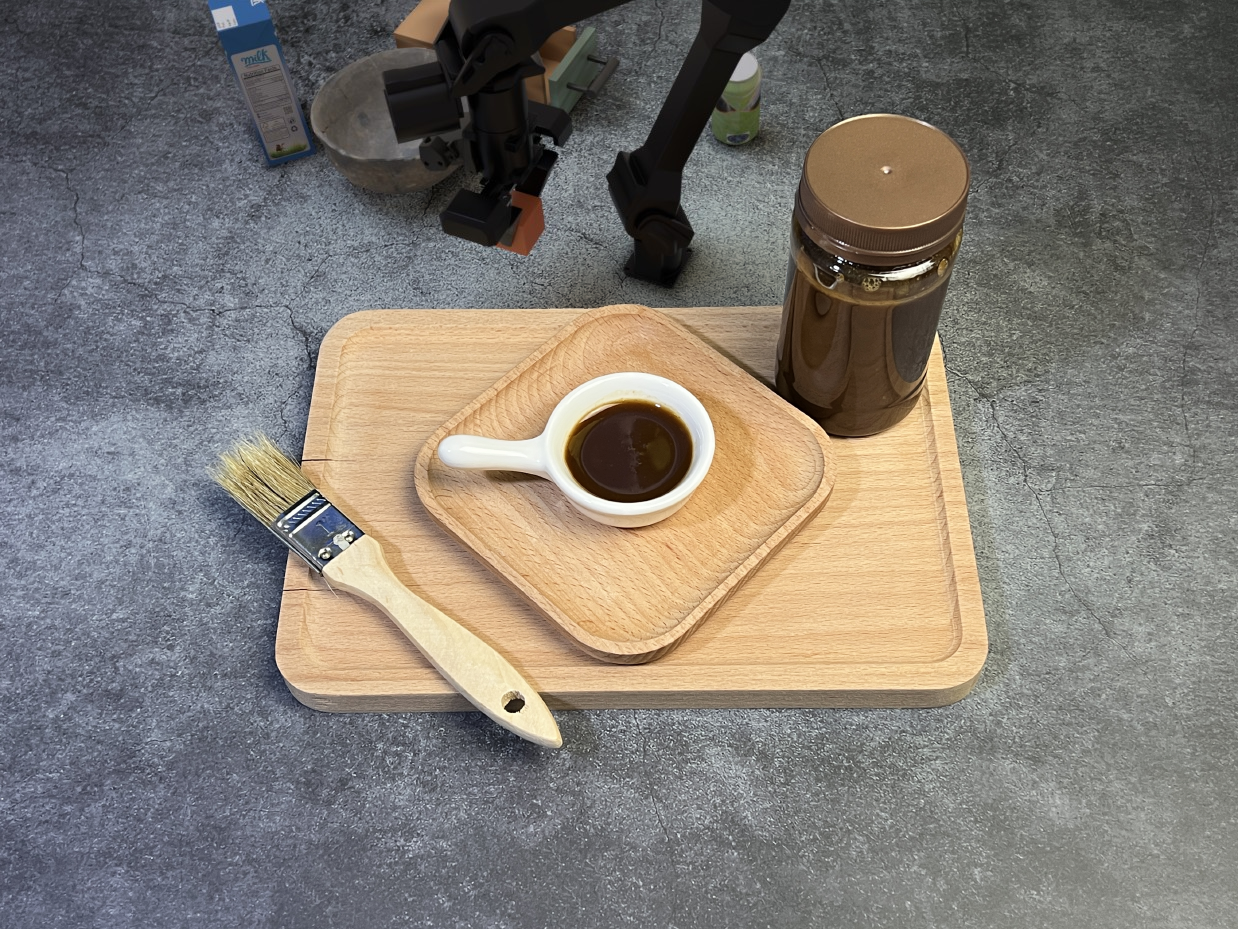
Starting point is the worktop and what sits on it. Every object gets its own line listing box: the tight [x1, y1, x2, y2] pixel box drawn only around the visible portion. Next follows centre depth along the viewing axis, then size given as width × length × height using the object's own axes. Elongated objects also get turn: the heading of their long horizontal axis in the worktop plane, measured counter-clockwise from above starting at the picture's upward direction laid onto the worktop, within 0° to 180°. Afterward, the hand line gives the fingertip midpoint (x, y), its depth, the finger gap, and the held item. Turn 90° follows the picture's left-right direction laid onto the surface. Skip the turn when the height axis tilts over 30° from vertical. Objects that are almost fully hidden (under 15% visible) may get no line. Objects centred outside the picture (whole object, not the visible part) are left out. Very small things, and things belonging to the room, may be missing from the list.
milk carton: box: [206, 0, 317, 168], centre depth 136 cm, size 10×6×20 cm, turn 22°
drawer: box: [525, 25, 621, 114], centre depth 144 cm, size 18×11×7 cm, turn 65°
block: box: [494, 189, 546, 257], centre depth 118 cm, size 4×4×4 cm
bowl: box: [310, 47, 469, 196], centre depth 137 cm, size 21×21×10 cm
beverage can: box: [711, 51, 763, 146], centre depth 137 cm, size 6×7×12 cm
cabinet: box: [393, 0, 451, 51], centre depth 147 cm, size 15×13×9 cm
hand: (517, 229), depth 119 cm, fingers closed on block, 4 cm apart
